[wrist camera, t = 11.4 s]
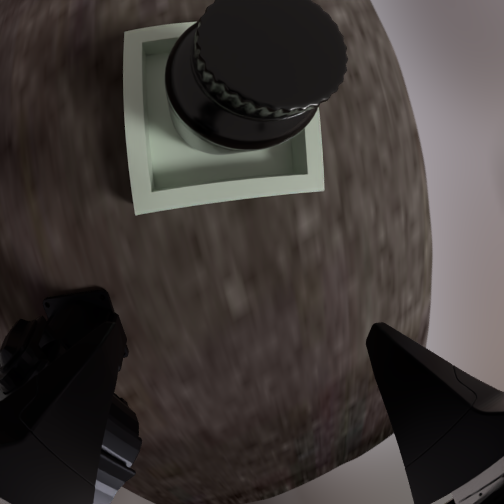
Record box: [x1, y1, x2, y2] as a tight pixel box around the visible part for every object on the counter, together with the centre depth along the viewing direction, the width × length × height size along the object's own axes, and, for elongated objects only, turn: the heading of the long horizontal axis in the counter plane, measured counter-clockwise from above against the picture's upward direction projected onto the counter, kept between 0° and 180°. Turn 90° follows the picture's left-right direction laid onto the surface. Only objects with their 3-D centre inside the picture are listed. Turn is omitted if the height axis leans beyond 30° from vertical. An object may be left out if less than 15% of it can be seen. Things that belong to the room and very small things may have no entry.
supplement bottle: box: [165, 0, 348, 155], centre depth 11 cm, size 7×7×12 cm
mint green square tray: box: [123, 22, 324, 215], centre depth 16 cm, size 12×12×3 cm
